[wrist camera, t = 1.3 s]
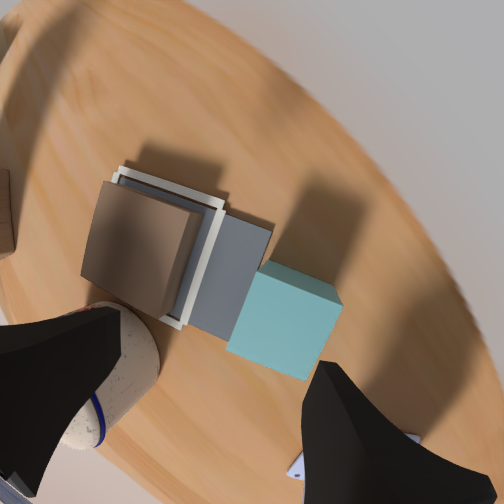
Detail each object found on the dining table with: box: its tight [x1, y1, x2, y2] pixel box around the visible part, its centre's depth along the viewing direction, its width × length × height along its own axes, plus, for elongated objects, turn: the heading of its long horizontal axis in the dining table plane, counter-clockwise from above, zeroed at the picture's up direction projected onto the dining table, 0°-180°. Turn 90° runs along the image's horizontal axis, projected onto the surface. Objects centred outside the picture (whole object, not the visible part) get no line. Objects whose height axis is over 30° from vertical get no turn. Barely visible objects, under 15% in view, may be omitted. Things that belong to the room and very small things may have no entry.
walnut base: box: [80, 181, 204, 319], centre depth 18 cm, size 7×7×2 cm
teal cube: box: [226, 260, 343, 381], centre depth 16 cm, size 4×4×5 cm
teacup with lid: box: [56, 301, 160, 450], centre depth 16 cm, size 12×9×12 cm
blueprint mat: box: [111, 166, 272, 342], centre depth 19 cm, size 13×10×1 cm
